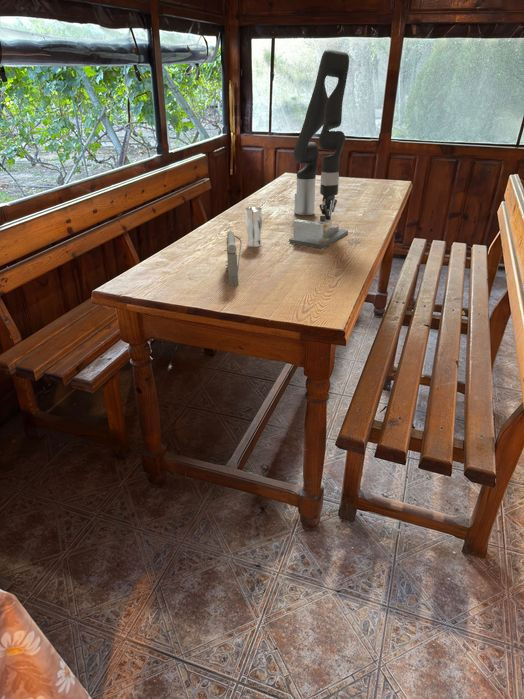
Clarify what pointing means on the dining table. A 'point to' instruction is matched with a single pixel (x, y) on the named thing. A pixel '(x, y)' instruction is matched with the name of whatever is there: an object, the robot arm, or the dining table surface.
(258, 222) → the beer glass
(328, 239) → the tester base
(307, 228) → the brushed metal plate
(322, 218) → the spring plunger
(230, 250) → the geiger counter
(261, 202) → the dining table surface
